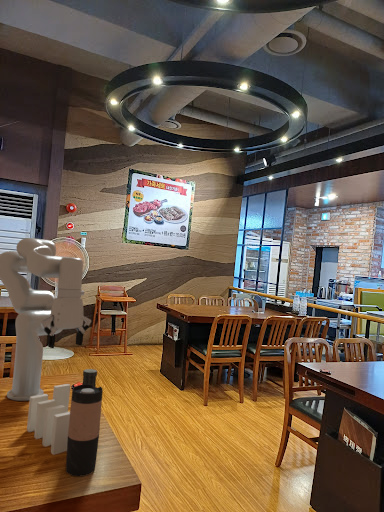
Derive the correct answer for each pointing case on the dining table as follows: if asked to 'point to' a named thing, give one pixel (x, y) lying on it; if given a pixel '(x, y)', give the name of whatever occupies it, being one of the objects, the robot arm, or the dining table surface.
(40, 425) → the domino
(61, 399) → the domino
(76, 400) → the travel mug
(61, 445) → the domino
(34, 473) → the dining table surface
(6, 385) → the dining table surface
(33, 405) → the domino
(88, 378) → the sauce bottle
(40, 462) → the dining table surface
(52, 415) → the domino
